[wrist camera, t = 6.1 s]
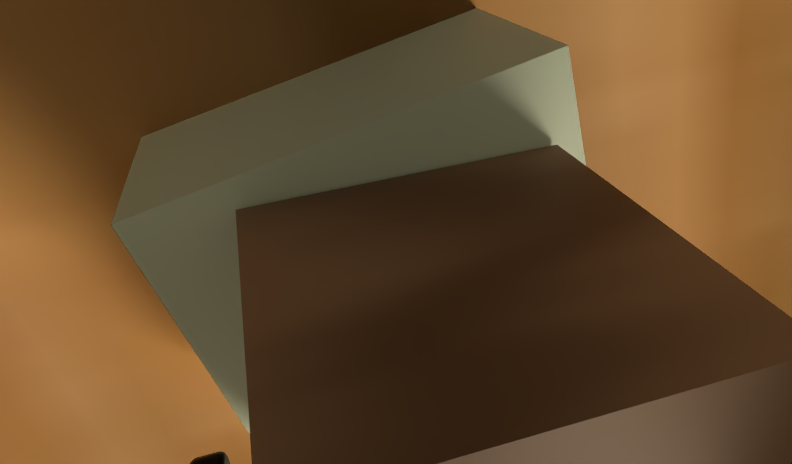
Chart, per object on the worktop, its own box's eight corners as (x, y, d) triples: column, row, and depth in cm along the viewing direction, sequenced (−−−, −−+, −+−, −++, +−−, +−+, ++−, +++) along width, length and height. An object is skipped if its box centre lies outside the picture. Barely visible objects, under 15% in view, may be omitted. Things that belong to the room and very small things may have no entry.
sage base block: (471, 6, 12) (567, 45, 9) (531, 271, 16) (616, 372, 12) (142, 132, 12) (110, 225, 8) (282, 375, 15) (299, 508, 12)
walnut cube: (556, 144, 9) (832, 348, 5) (547, 377, 12) (726, 640, 8) (235, 210, 9) (255, 516, 4) (298, 445, 11) (349, 781, 7)
